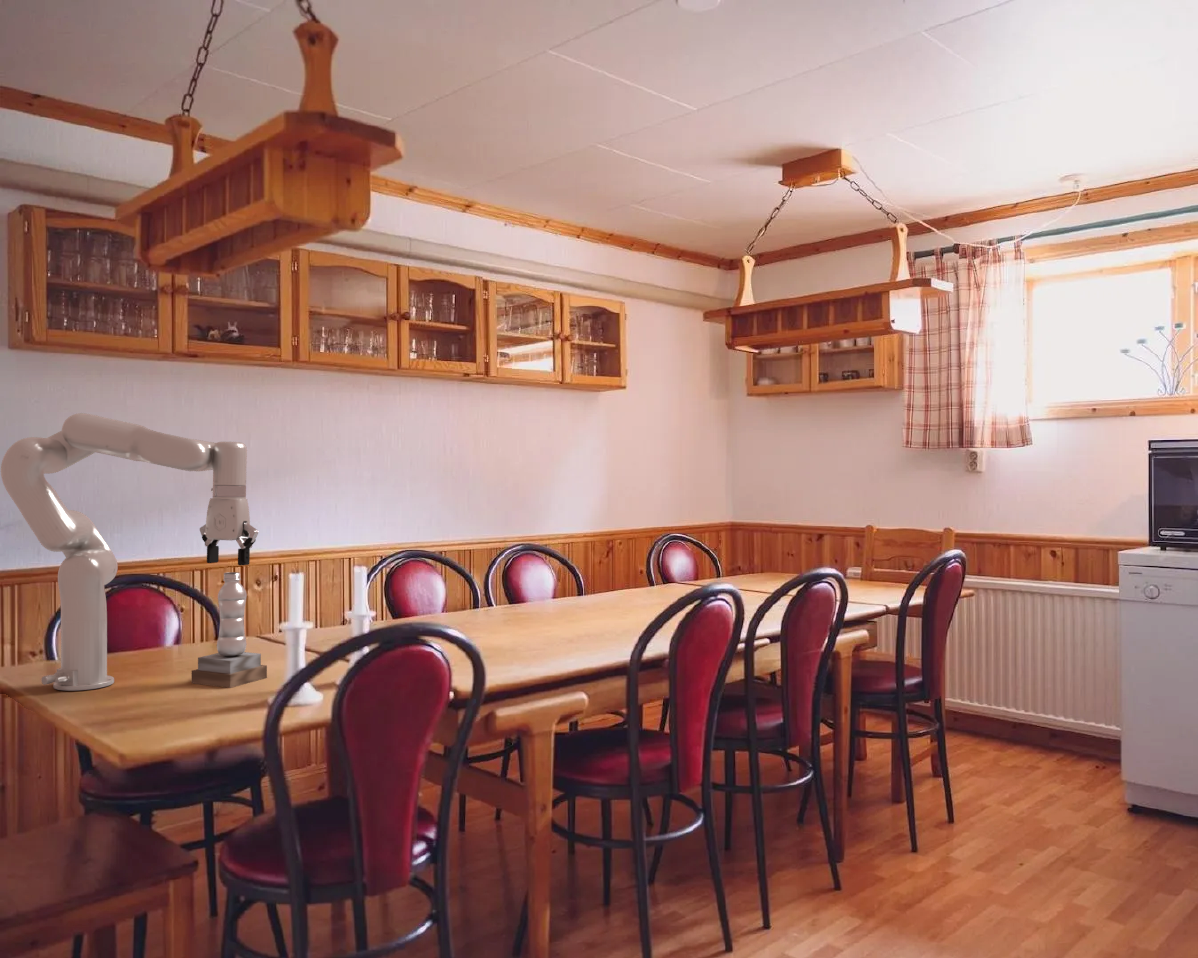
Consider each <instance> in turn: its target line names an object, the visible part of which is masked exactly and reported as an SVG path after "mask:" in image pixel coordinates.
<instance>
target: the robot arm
mask: <svg viewBox="0 0 1198 958" xmlns="http://www.w3.org/2000/svg"><path fill="white" fill-rule="evenodd" d="M247 451H248V450H247V446H246V444H245V443H243V442H240V441H218V442H212V441H206V440H199V439H194V438H193V439H192V438H188V437H183V436H182V437H181V436H177V435H172V434H170V433H169V434H168V433H163V432H160V431H156V430H152V429H150V428H148V427H146V426H144V425H141V424H136V423H131V422H127V421H123V420H117V419H112V418H109V417H104V416H100V415H97V414H91V413H84V412H83V413H82V412H79V413H75V414H74V413H73V414H72V415H70V416H69V417H67V418H66V419H65V420H64V422H63V424H62V427H61V430H60V431H58V432H56V433H54V434H52V435H51V436H48V437H38V436H34V437H32V436H31V437H25V438H21V439H19V440H17V441H16V442H14V443H13V444H12V445H11V446H10V447H9V448H8V449H7V450H6V452H5V454H4V456H3V457H2V461H1V464H0V475H1V480H2V483H3V486H4V488H5V490H6V492H7V493H8V495H9V497H10V498H11V499H12V502H13V503H14V504H15V506H16V507H17V508H18V510H19V512H20V513H21V515H22V517H23V519H24V520H25V522H26V523H27V525H28V526H29V528H30V529H31V531H32V532H33V534H34V535H35V537H36V539H37V540H38V541H39V543H40V544H41V546H42V547H43V548H45V549H46V550H48V551H49V552H50V551H51V552H54V553H55V552H56V553H57V552H60V553H61V552H62V554H63V555H64V557H65V558H64V559H63V561H62V562H61V564H60V565H59V569H58V571H57V584H58V585H57V586H58V593H59V599H60V668H56V671H55V673H53V674H49V675H48V674H47V675H44V676H41V679H40V680H41V683H42V684H43V685H44V686H45V685H50V684H53V685H52V686H53V689H54V690H57V691H67V692H68V691H70V692H71V691H88V690H95V689H100V688H106V687H108V686H111V685H113V684H114V683H115V677H113V676H111V675H108V611H107V609H108V608H107V598H106V597H107V596H106V590H105V586H106V585H108V584H109V583H110V582H112V581H113V580H114V579H115V577H116V575H117V573H118V566H119V565H118V560H117V557H116V556H115V554H114V552H113V551H112V549H111V548H110V546H109V545H108V543H107V541H106V540H105V539H104V537H103V536H102V534H101V532H100V531H99V530H98V528H97V526H96V525H95V523H94V522H93V521H92V520H91V518H90V517H88V516H87V514H85V513H83V512H81V511H78V510H74V509H72V510H71V509H68V508H67V506H66V505H65V503H64V502H63V500H62V499H61V498H60V496H59V495H58V493H57V491H56V490H55V489H54V488H53V486H52V485H51V484H50V483H49V481H47V479H46V477H45V474H55V473H58V472H61V471H63V470H65V469H67V468H69V467H71V466H73V465H75V464H77V463H78V462H80V461H82V460H84V459H86V458H88V457H90V456H91V455H93V454H95V453H97V454H102V455H107V456H111V457H116V458H122V459H124V460H131V461H133V462H143V463H149V464H153V465H158V466H161V467H166V468H172V469H175V470H180V471H186V472H206V471H212V487H211V489H210V492H211V494H212V497H211V498H210V499H209V500H208V501H209V502H208V504H207V505H208V506H207V512H206V518H205V519H206V520H205V524H204V525H202V526H201V527H199V532H200V535H201V539H202V541H203V542H204V546H205V547H206V564H215V563H218V562H219V556H220V554H219V553H220V552H219V551H220V548H219V547H220V546H219V545H217V544H219V542H220V541H231V542H232V541H236V543H237V544H238V546H239V548H238V549H237V565H238V566H249V565H250V561H251V560H250V557H251V555H250V552H251V551H250V550H251V548H252V547H253V545H254V543H255V542H256V539H257V537H258V535H259V530H258V529H256V527H254V526H253V525H251V521H250V519H251V517H250V507H249V502H248V498H247V463H248V461H247V457H248V452H247Z"/></svg>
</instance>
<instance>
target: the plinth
mask: <svg viewBox="0 0 1198 958" xmlns="http://www.w3.org/2000/svg"><path fill="white" fill-rule="evenodd" d="M261 655H262V654H261V653H258V652H257V653H256V652H249V651H248V652H246V651H244V653H243V654H240V655H236V656H232V657H229V656H223V655H220V654H219V653H218V652H217V653H212V654H208V655H204V656H199V657H197V669H192V670H191V684H195V685H203V686H212V687H219V686H223V687H222V688H227V687H228V688H229V689H231V688H234V687H239V686H241V685H246V684H250V683H253V682H256V681H260V680H264V679H268V666H267V665H265V664H264V665H263V664H261V663H262V661H261V660H262V659H261V658H262V657H261ZM228 688H227V689H228Z"/></svg>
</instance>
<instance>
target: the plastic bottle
mask: <svg viewBox="0 0 1198 958" xmlns="http://www.w3.org/2000/svg"><path fill="white" fill-rule="evenodd" d="M241 581H242V578H241V573H240V572H237V571H235V572H233V571H231V572H223V582H224V584H223V585H222V586H221V587H220V589H219V591H218V592H217V593H218V594H217V603H218V609H219V630H218V631H219V632H218V638H217V642H216V649H217V650H216V651H217V653H219V654H220V655H223V656H229V657H232V656H236V655H240V654H243V653H244V652H246V648H247V639H246V635H245V609H246V608H245V607H246V604H247V603H246V602H247V597H248V596H247V591H246V589H245V587H244V586H243V585H242V584H241V583H240V582H241Z"/></svg>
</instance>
